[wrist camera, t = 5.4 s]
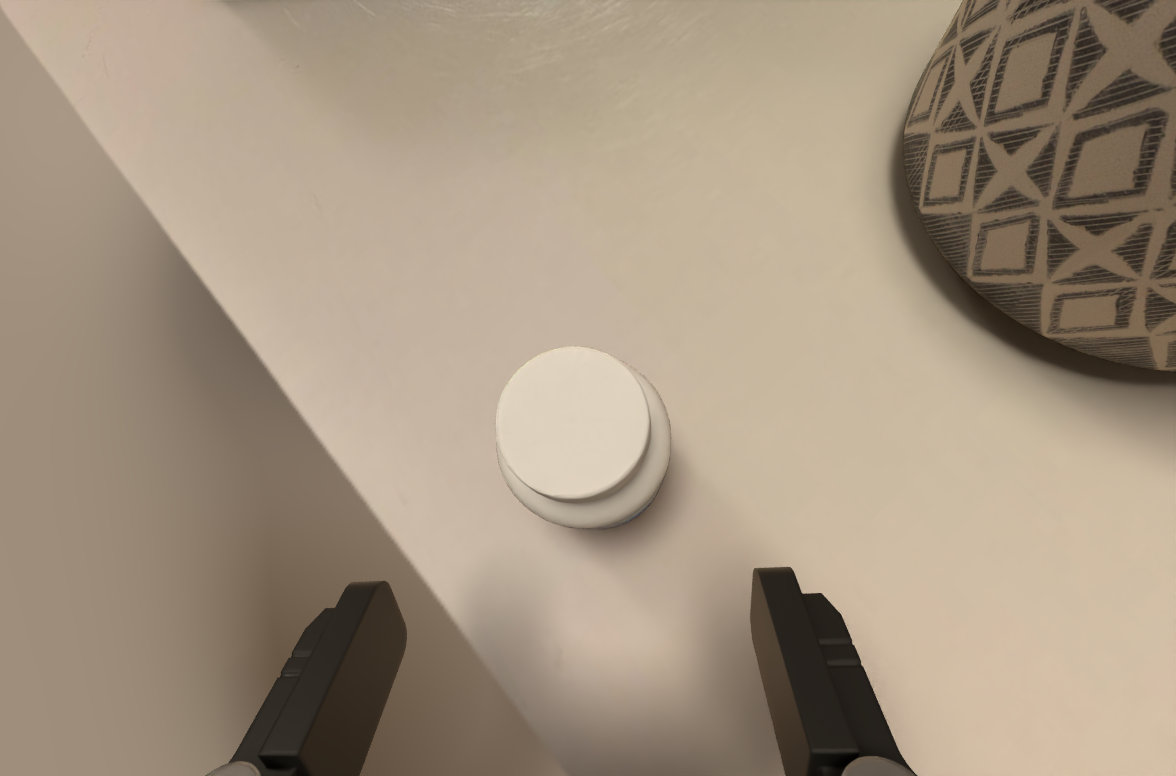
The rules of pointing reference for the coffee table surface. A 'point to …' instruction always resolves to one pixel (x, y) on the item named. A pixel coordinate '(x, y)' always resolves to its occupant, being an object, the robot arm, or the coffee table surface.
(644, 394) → the pill bottle
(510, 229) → the coffee table surface
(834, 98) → the coffee table surface
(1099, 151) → the planter
